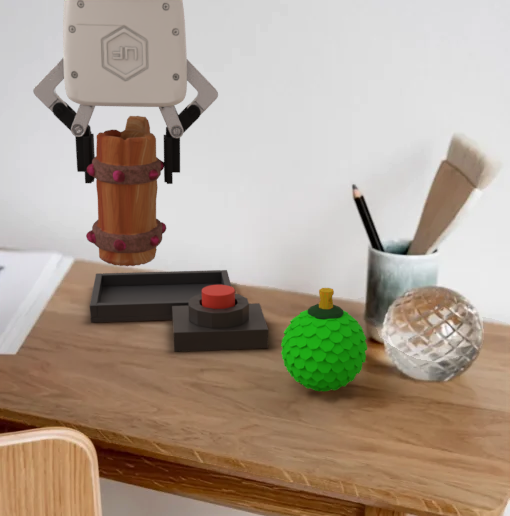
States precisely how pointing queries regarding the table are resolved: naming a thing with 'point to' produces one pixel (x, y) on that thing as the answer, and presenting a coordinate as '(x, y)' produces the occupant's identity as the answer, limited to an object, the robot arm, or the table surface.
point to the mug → (127, 195)
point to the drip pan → (148, 293)
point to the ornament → (324, 346)
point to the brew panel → (219, 326)
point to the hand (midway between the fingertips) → (129, 178)
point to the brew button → (218, 296)
